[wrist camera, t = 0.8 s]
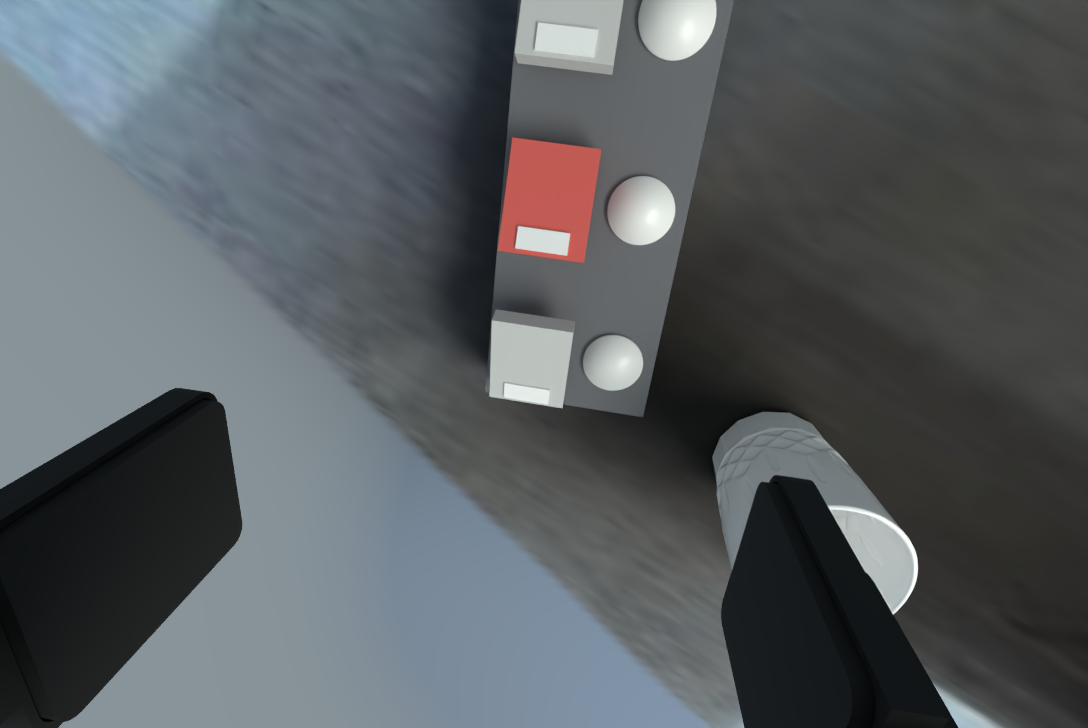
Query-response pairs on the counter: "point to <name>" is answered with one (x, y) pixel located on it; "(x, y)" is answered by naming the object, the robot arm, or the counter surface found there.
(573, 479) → the counter surface
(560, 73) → the power strip
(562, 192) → the outlet rocker
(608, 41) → the outlet rocker
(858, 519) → the white cup
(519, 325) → the rocker outlet
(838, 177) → the counter surface
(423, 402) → the counter surface
